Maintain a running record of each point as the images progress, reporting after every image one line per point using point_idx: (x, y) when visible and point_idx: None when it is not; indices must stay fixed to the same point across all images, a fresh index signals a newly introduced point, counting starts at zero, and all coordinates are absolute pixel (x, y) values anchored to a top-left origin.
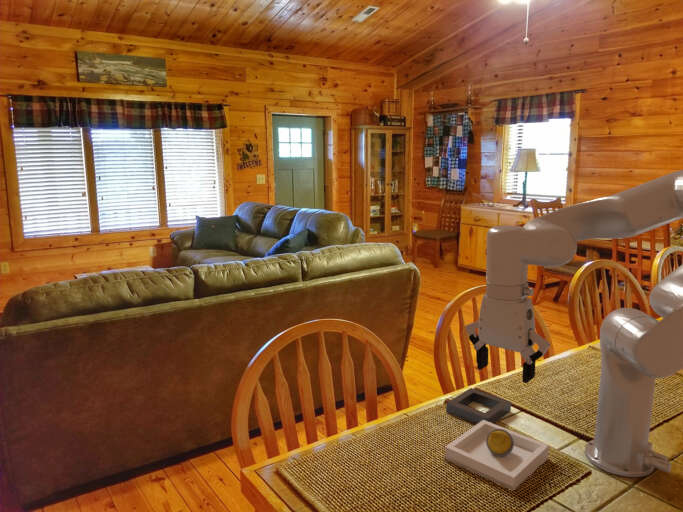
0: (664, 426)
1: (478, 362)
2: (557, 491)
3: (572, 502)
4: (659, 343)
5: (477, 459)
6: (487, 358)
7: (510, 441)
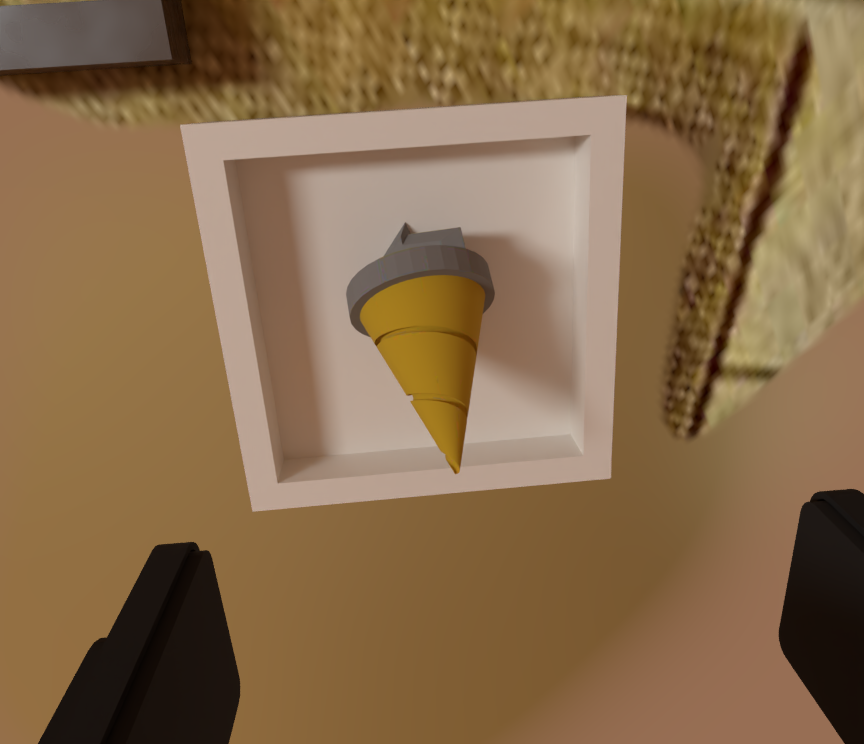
0: None
1: None
2: (725, 311)
3: (793, 332)
4: None
5: (423, 484)
6: (179, 635)
7: (481, 291)
